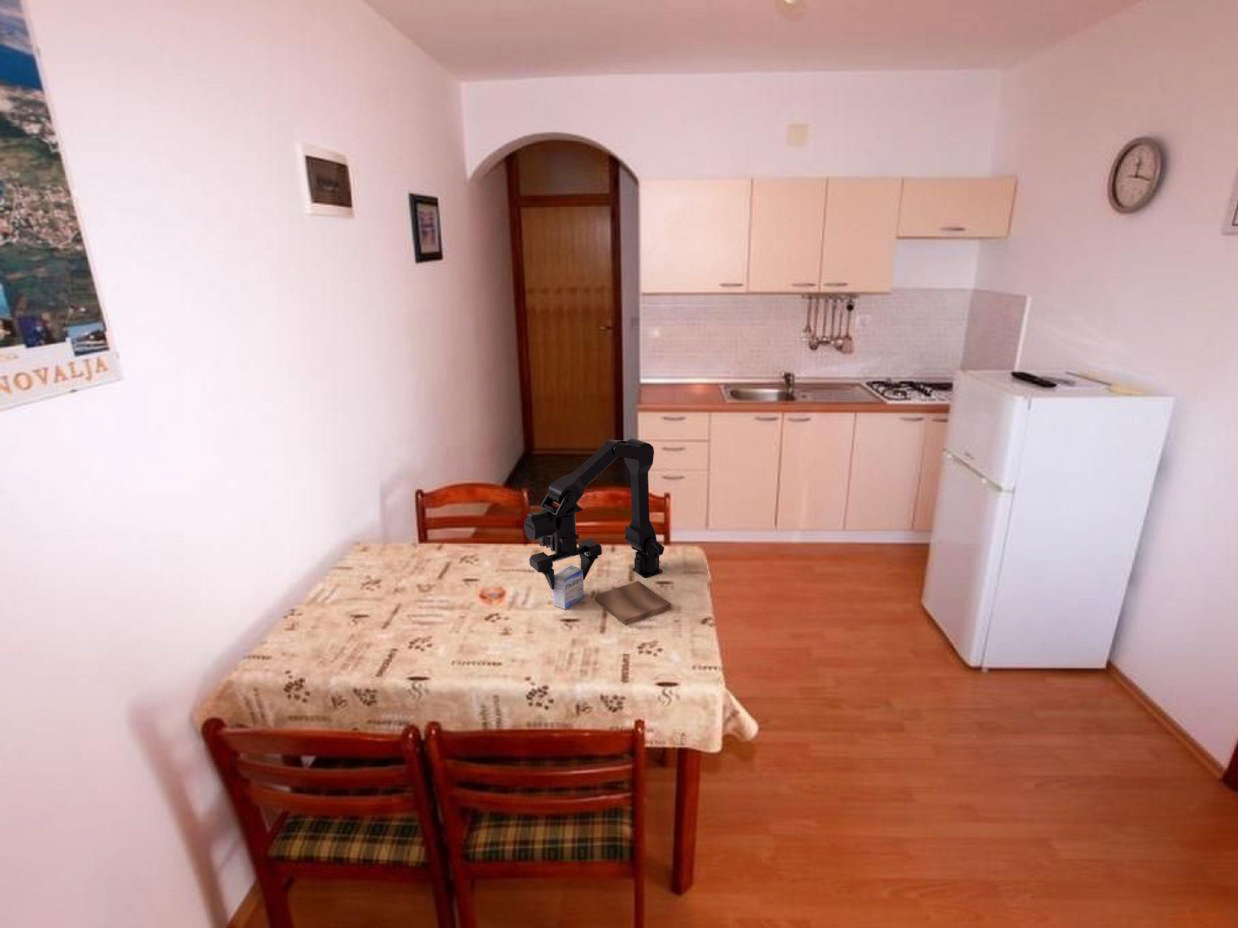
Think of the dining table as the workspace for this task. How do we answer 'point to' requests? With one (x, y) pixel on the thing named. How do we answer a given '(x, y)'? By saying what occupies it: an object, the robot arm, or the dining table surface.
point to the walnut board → (632, 602)
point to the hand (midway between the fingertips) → (567, 584)
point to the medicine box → (568, 587)
